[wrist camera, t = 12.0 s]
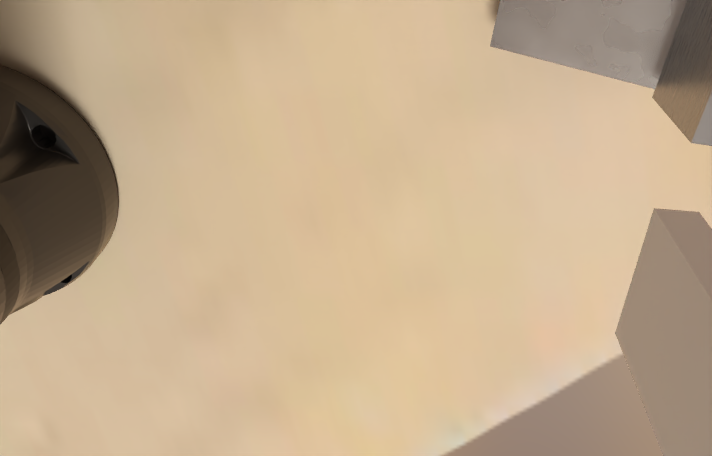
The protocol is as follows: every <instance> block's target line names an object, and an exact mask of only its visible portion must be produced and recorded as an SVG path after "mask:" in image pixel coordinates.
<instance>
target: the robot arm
mask: <svg viewBox="0 0 712 456" xmlns="http://www.w3.org/2000/svg"><path fill="white" fill-rule="evenodd" d="M117 214H118V192H117V186H116V181H115V177H114V173H113V170H112V167H111V164H110V162H109V160H108V157H107V155H106V153H105V151H104V149H103V147H102V146H101V144H100V142H99V141H98V139H97V137H96V136H95V134H94V133H93V132H92V130H91V129H90V128H89V126H88V125H87V124H86V122H85V121H84V120H83V119H82V118H81V117H80V116H79V114H78V113H77V112H76V111H75V110H74V109H73V108H72V107H71V106H69V105H68V104H67V103H66V102H65V101H64V100H63V99H61V98H60V97H59V96H58V95H56V94H55V93H54V92H52V91H51V90H50V89H48V88H47V87H45V86H44V85H42V84H40V83H39V82H37V81H35V80H33V79H32V78H30V77H28V76H26V75H24V74H22V73H19V72H17V71H15V70H12V69H10V68H7V67H4V66H1V65H0V324H1V323H2V322H3V321H4V320H5V319H6V318H7V316H8V315H10V314H12V313H14V312H16V311H18V310H20V309H22V308H24V307H26V306H28V305H29V304H31V303H33V302H35V301H37V300H38V299H40V298H41V297H42V296H44V295H47V294H50V293H52V292H55V291H57V290H59V289H61V288H63V287H65V286H67V285H69V284H70V283H72V282H73V281H75V280H76V279H77V278H78V277H80V276H81V275H82V274H83V273H84V272H85V271H86V270H87V269H88V268H89V267H90V266H91V265H92V263H93V262H94V261H95V260H96V258H97V257H98V256H99V254H100V253H101V252H102V251H103V249H104V248H105V247H106V245H107V243H108V242H109V240H110V238H111V236H112V234H113V231H114V228H115V225H116V221H117ZM615 334H616V336H617V339H618V341H619V344H620V347H621V349H622V352H623V354H624V357H625V359H626V362H627V364H628V367H629V369H630V372H631V375H632V377H633V380H634V382H635V385H636V387H637V389H638V392H639V395H640V397H641V400H642V403H643V405H644V408H645V410H646V413H647V415H648V418H649V420H650V423H651V425H652V428H653V431H654V433H655V436H656V438H657V441H658V443H659V446H660V448H661V451H662V454H663V456H712V229H711V227H710V226H709V225H708V223H707V222H706V221H705V219H704V218H703V217H702V215H701V214H700V213H699V212H692V211H679V210H667V209H655V208H654V210H653V213H652V217H651V220H650V223H649V226H648V229H647V233H646V236H645V239H644V242H643V246H642V249H641V252H640V255H639V258H638V262H637V265H636V268H635V271H634V274H633V278H632V281H631V284H630V287H629V291H628V294H627V297H626V300H625V303H624V307H623V310H622V313H621V316H620V319H619V323H618V326H617V329H616V332H615Z"/></svg>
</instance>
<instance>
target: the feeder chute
mask: <svg viewBox="0 0 712 456" xmlns="http://www.w3.org/2000/svg"><path fill="white" fill-rule="evenodd" d="M490 46H491V47H495V48H499V49H503V50H507V51H511V52H514V53H518V54H522V55H526V56H530V57H534V58H537V59H541V60H545V61H549V62H553V63H557V64H560V65H564V66H568V67H572V68H576V69H580V70H583V71H587V72H591V73H595V74H599V75H603V76H606V77H610V78H614V79H618V80H622V81H626V82H629V83H633V84H637V85H641V86H645V87H649V88H653V89H655V91H654V94H653V97H652V98H653V99H654V100H655V101H656V102H657V104H658V105H659V106H660V107H661V108H662V109H663V111H664V112H665V113H666V114H667V115H668V116H669V118H670V119H671V120H672V121H673V122H674V123H675V125H676V126H677V127H678V128H679V129H680V130H681V132H682V133H683V134H684V135H685V136H686V137H687V139H688V140H689V141H690V142H691V143H696V144H702V145H709V146H712V0H500V4H499V8H498V13H497V17H496V22H495V26H494V31H493V35H492V40H491V44H490Z"/></svg>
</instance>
